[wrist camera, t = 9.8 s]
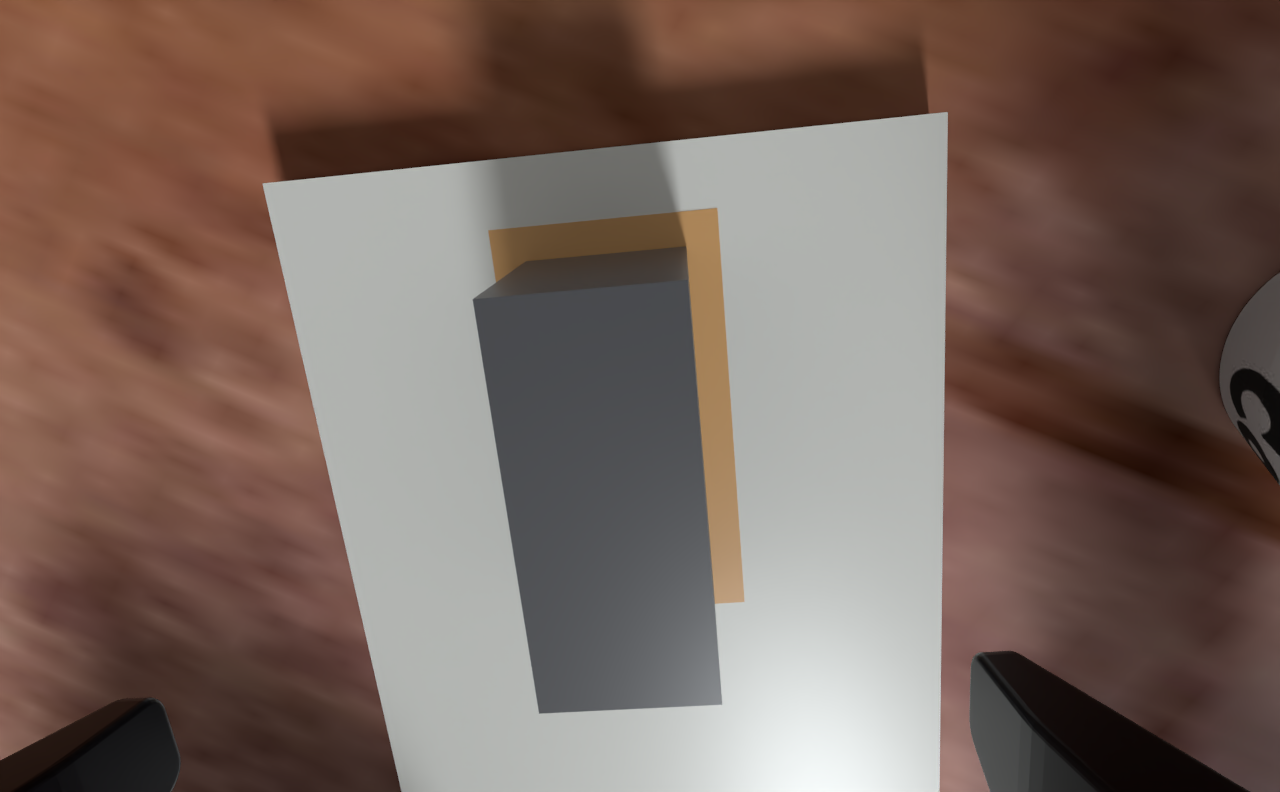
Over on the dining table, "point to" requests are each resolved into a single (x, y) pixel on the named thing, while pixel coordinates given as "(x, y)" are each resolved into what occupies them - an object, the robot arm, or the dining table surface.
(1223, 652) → the dining table surface
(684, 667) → the block
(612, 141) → the dining table surface
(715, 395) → the board
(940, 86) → the dining table surface
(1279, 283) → the cup
